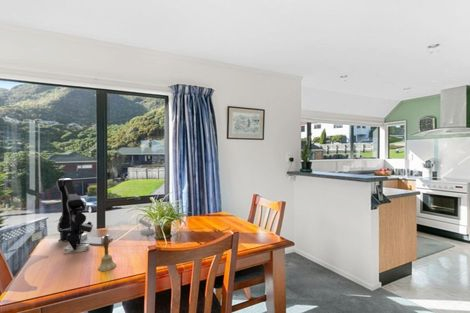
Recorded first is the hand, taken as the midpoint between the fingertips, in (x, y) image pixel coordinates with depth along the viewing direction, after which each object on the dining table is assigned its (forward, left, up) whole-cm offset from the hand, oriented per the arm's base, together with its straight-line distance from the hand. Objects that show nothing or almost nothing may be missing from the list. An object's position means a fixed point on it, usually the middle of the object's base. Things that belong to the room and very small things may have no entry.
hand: (77, 247), depth 156 cm
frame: (0, 0, -2) cm, 2 cm away
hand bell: (+31, -16, -2) cm, 35 cm away
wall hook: (+24, +35, -2) cm, 43 cm away
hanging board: (0, +14, -2) cm, 14 cm away
